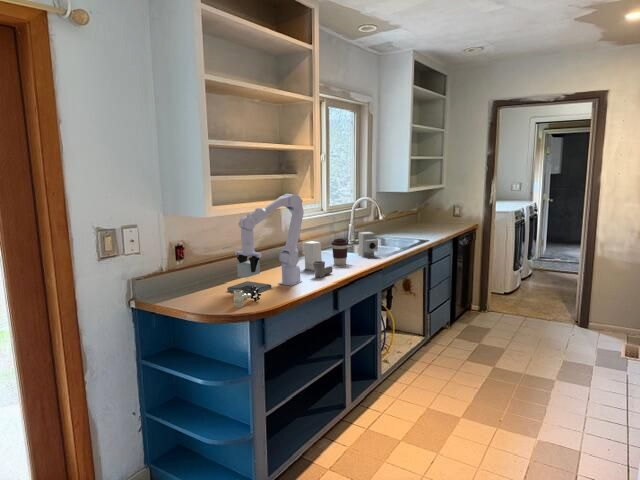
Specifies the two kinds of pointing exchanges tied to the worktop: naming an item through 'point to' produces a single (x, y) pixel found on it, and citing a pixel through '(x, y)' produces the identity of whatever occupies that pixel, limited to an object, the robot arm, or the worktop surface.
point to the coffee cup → (339, 251)
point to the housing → (247, 269)
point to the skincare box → (312, 254)
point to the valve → (245, 296)
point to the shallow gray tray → (247, 285)
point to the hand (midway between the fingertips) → (248, 271)
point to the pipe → (321, 269)
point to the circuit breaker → (367, 244)
